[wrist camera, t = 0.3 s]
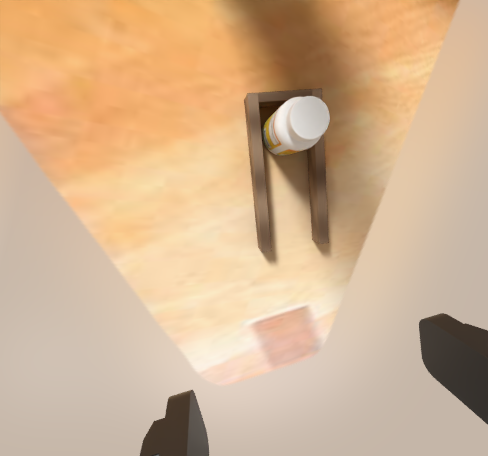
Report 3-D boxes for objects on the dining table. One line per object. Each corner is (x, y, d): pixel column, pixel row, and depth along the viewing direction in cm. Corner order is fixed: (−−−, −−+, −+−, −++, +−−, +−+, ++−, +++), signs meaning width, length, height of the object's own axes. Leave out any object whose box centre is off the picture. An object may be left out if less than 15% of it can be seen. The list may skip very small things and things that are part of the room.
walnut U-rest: (244, 99, 34) (247, 93, 31) (313, 95, 35) (321, 88, 32) (258, 247, 37) (262, 252, 35) (320, 238, 38) (328, 242, 36)
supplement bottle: (309, 128, 36) (347, 109, 26) (287, 164, 36) (317, 158, 26) (275, 104, 34) (303, 75, 25) (253, 141, 35) (272, 126, 25)
